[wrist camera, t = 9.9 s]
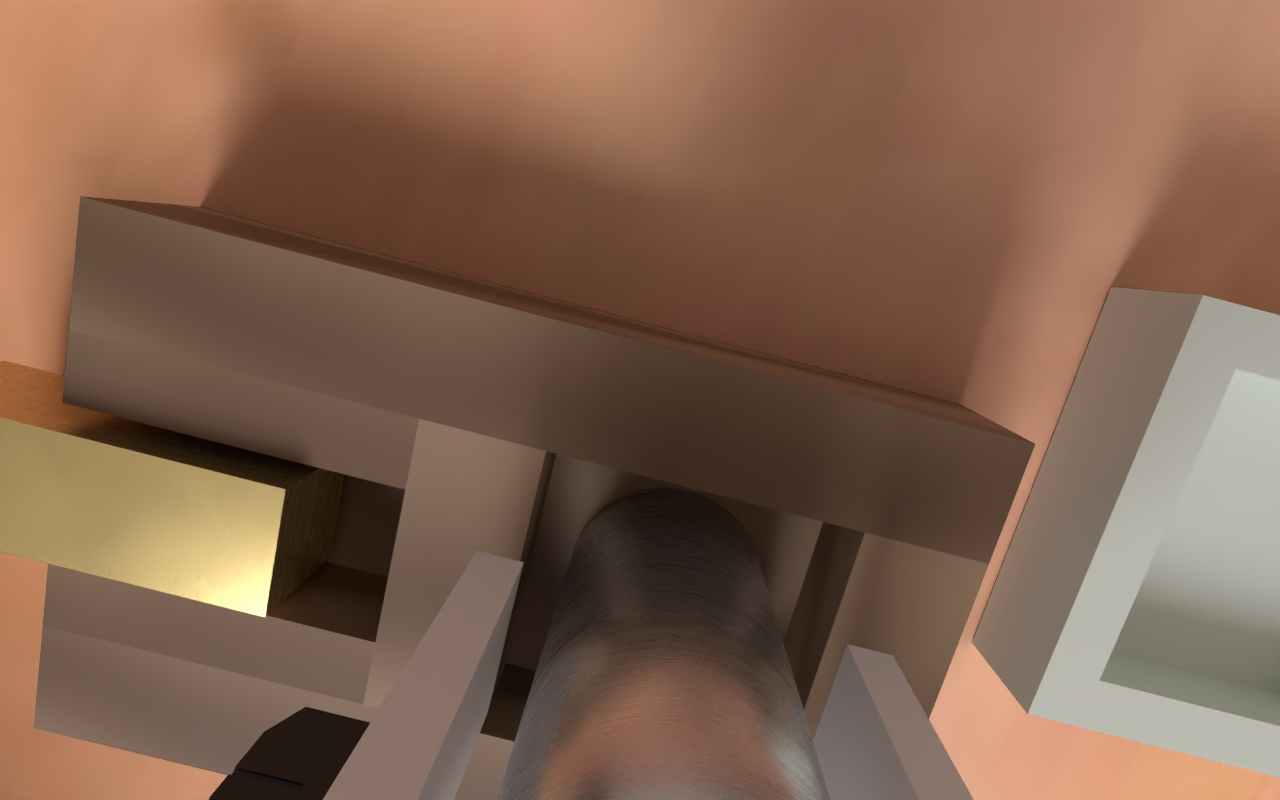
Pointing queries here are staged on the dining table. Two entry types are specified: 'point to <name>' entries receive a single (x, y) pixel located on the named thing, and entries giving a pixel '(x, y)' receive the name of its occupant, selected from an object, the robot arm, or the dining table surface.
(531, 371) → the socket block
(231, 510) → the bar
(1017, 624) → the pale grey square tray
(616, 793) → the metal round-nosed cylinder
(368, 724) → the robot arm
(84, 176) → the dining table surface
